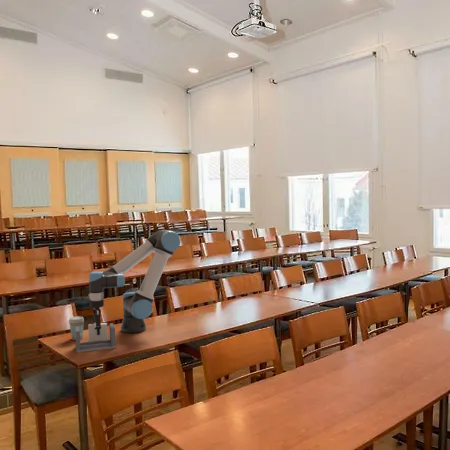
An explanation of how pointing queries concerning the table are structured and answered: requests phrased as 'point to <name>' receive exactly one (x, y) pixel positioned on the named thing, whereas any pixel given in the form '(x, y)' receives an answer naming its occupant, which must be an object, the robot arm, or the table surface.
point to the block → (93, 332)
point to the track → (95, 342)
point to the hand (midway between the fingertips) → (97, 337)
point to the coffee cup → (76, 322)
